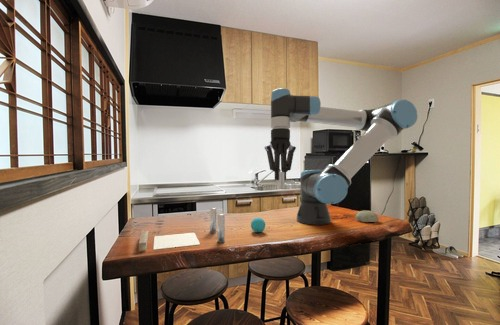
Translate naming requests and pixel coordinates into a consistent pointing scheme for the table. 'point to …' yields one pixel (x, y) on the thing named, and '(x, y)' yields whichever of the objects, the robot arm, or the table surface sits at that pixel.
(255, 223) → the ball
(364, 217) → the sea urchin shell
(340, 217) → the table surface
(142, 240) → the wall
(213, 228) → the post
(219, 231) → the post
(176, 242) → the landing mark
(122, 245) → the table surface
